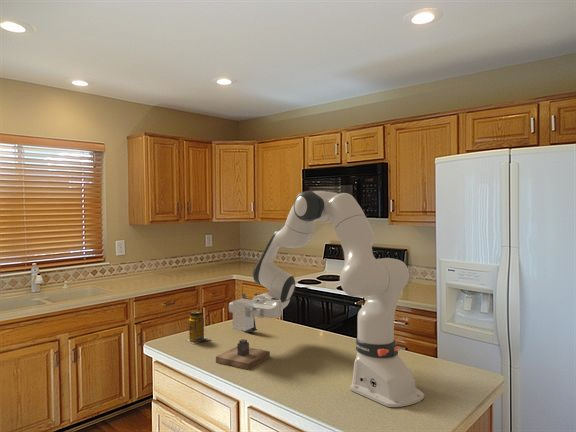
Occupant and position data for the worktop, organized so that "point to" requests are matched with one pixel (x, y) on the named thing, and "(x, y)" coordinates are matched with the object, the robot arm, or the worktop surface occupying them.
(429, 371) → the worktop surface
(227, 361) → the wooden base with peg
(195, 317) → the condiment
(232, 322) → the gun
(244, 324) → the tall wooden block
